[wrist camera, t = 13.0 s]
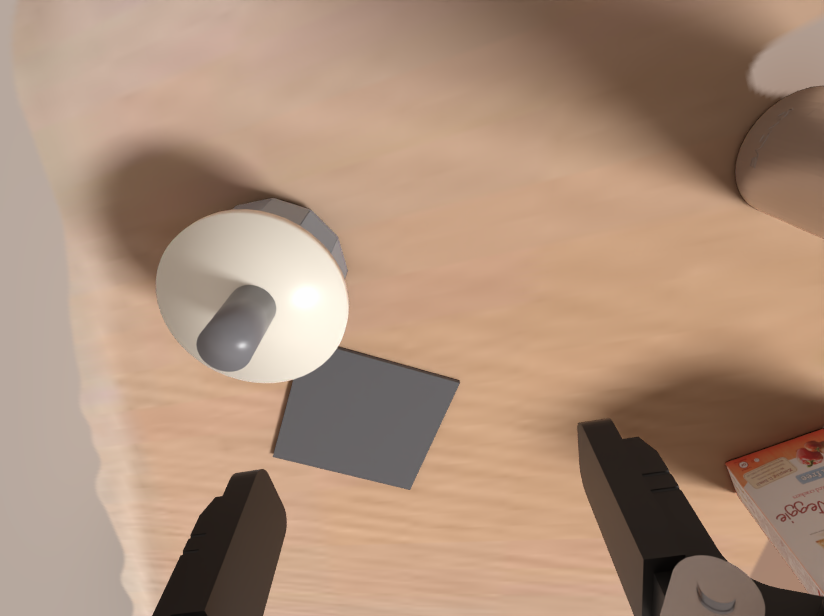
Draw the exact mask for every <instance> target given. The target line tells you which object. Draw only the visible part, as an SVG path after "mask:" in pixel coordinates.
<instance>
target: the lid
mask: <svg viewBox="0 0 824 616" xmlns="http://www.w3.org/2000/svg"><path fill="white" fill-rule="evenodd" d="M156 295H157V302H158V305H159V309H160V312H161V314H162V317H163V319H164V321H165V323H166V325H167V327H168V328H169V330H170V332H171V333H172V335H173V336H174V337H175V339H176V340H177V341H178V342H179V344H180V345H181V346H182V347H183V348H184V349H185V350H186V351H187V352H188V353H190V354H191V355H192V356H193V357H194V358H196V359H197V360H198V361H200V362H201V363H203V364H204V365H206V366H207V367H209V368H211V369H213V370H215V371H217V372H219V373H221V374H224V375H226V376H229V377H232V378H235V379H239V380H243V381H248V382H256V383H277V382H285V381H289V380H293V379H296V378H299V377H302V376H304V375H306V374H308V373H310V372H312V371H314V370H316V369H317V368H318V367H320V366H321V365H323V364H324V363H325V362H326V361H327V360H328V359H329V358H330V357H331V355H332V354H333V353H334V352H335V350H336V349H337V347H338V345H339V344H340V342H341V340H342V337H343V335H344V332H345V328H346V324H347V320H348V315H349V295H348V289H347V285H346V281H345V279H344V276H343V273H342V271H341V269H340V267H339V265H338V264H337V262H336V260H335V259H334V257H333V256H332V254H331V253H330V252H329V250H328V249H327V248H326V247H325V246H324V245H323V244H322V243H321V242H320V241H319V240H318V239H317V238H316V237H315V236H313V235H312V234H311V233H310V232H308V231H307V230H305V229H304V228H302V227H301V226H299V225H298V224H296V223H294V222H292V221H290V220H288V219H286V218H283V217H281V216H278V215H275V214H272V213H268V212H263V211H258V210H249V209H233V210H226V211H220V212H217V213H214V214H210V215H208V216H205V217H203V218H201V219H199V220H197V221H196V222H194V223H193V224H191V225H190V226H188V227H187V228H185V229H184V230H183V231H181V232H180V233H179V234H178V235H177V236H176V237H175V238H174V239H173V240H172V241H171V243H170V244H169V245H168V247H167V248H166V250H165V252H164V253H163V255H162V257H161V260H160V263H159V266H158V269H157V275H156Z"/></svg>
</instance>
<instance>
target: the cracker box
mask: <svg viewBox="0 0 824 616" xmlns="http://www.w3.org/2000/svg"><path fill="white" fill-rule="evenodd" d="M726 466H727V469H728V472H729V474H730V477H731V480H732V482H733V485H734V488H735V490H736V493H737V496H738V497H739V499H740V500H741V501H742V503H743V504H744V506H745V507H746V508H747V510H748V511H749V513H750V514H751V515H752V517H753V518H754V519H755V521H756V522H757V523H758V525H759V526H760V528H761V529H762V530H763V532H764V533H765V535H766V536H767V537H768V539H769V540H770V541H771V543H772V544H773V546H774V547H775V548H776V550H777V551H778V552H779V554H780V555H781V556H782V558H783V559H784V561H785V562H786V563H787V565H788V566H789V567H790V569H791V570H792V572H793V573H794V574H795V575H796V577H797V578H798V580H799V581H800V582H801V584H802V585H803V586H804V588H805V589H806V590H807V592H808V593H809V594H812V595H818V596H823V597H824V428H823V429H820V430H818V431H815V432H812V433H809V434H806V435H803V436H801V437H798V438H795V439H792V440H789V441H786V442H783V443H780V444H777V445H775V446H772V447H769V448H766V449H763V450H760V451H757V452H755V453H752V454H749V455H746V456H743V457H740V458H737V459H734V460H731V461H728V462H726Z"/></svg>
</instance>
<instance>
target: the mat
mask: <svg viewBox="0 0 824 616" xmlns="http://www.w3.org/2000/svg"><path fill="white" fill-rule="evenodd" d="M459 384H460V381H459V380H456V379H452V378H448V377H445V376H441V375H438V374H434V373H431V372H427V371H423V370H420V369H416V368H413V367H409V366H406V365H402V364H398V363H395V362H391V361H388V360H384V359H380V358H377V357H373V356H370V355H366V354H363V353H359V352H355V351H352V350H348V349H345V348H341V347H337V349H336V350H335V352H334V353H333V354H332V355H331V357H330V358H329V359H328V360H327V361H326V362H325V363H324V364H323V365H321V366H320V367H318V368H317V369H316V370H314V371H312V372H310V373H308V374H306V375H304V376H302V377H299V378H296V379H294V380H293V383H292V387H291V391H290V395H289V398H288V402H287V406H286V410H285V413H284V417H283V421H282V425H281V428H280V432H279V436H278V440H277V443H276V447H275V451H274V455H273V457H275V458H280V459H284V460H288V461H292V462H296V463H300V464H305V465H309V466H313V467H317V468H321V469H325V470H329V471H334V472H338V473H342V474H346V475H350V476H354V477H358V478H363V479H367V480H371V481H375V482H379V483H383V484H388V485H392V486H396V487H400V488H404V489H408V490H410V489H411V487H412V484H413V482H414V480H415V478H416V476H417V474H418V472H419V469H420V467H421V465H422V463H423V461H424V459H425V457H426V454H427V452H428V450H429V448H430V446H431V444H432V442H433V439H434V437H435V435H436V433H437V431H438V429H439V427H440V424H441V422H442V420H443V418H444V416H445V414H446V412H447V409H448V407H449V405H450V403H451V401H452V399H453V397H454V394H455V392H456V390H457V388H458V386H459Z"/></svg>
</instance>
